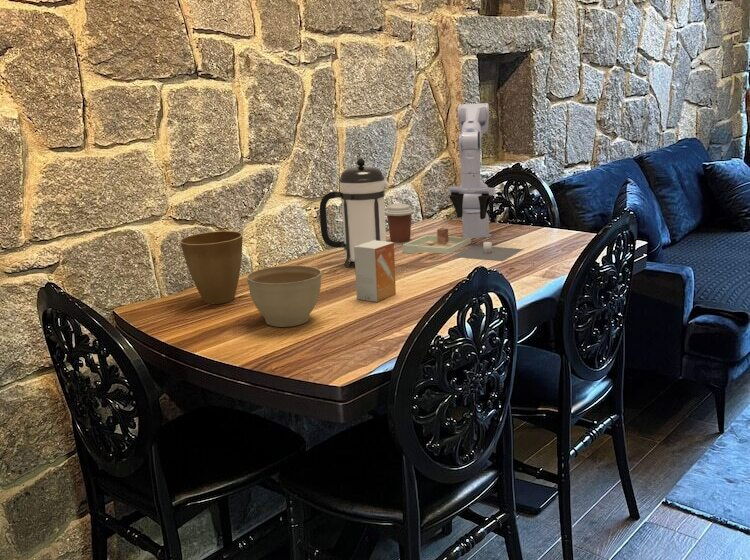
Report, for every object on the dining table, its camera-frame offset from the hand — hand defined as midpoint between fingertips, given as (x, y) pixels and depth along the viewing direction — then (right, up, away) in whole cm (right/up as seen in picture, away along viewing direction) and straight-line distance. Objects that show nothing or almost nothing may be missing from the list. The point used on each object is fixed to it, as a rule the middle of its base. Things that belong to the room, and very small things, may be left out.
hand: (471, 218), depth 217 cm
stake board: (+4, -12, -8) cm, 15 cm away
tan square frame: (-10, -9, +4) cm, 14 cm away
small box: (-29, -23, -43) cm, 56 cm away
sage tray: (-10, -9, +4) cm, 14 cm away
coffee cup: (-21, -7, +16) cm, 27 cm away
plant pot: (-68, -24, -39) cm, 82 cm away
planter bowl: (-48, -28, -58) cm, 81 cm away
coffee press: (-33, -14, -10) cm, 37 cm away
